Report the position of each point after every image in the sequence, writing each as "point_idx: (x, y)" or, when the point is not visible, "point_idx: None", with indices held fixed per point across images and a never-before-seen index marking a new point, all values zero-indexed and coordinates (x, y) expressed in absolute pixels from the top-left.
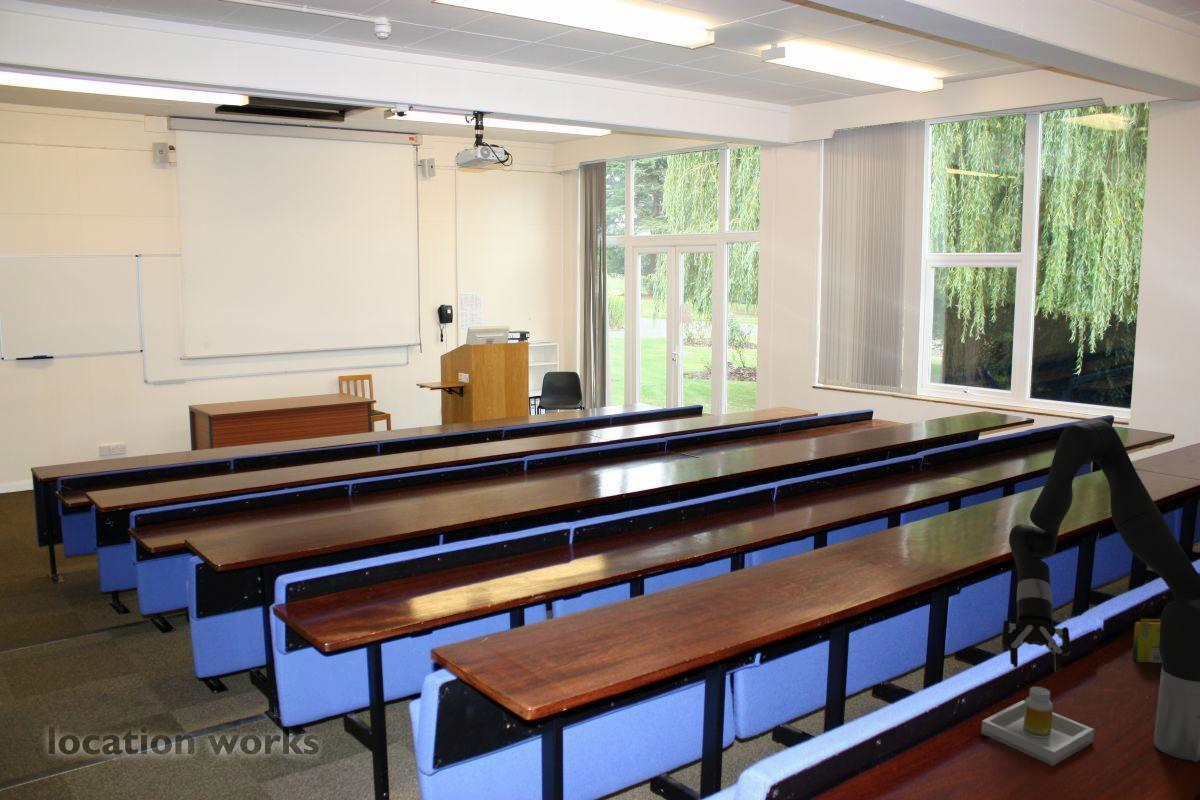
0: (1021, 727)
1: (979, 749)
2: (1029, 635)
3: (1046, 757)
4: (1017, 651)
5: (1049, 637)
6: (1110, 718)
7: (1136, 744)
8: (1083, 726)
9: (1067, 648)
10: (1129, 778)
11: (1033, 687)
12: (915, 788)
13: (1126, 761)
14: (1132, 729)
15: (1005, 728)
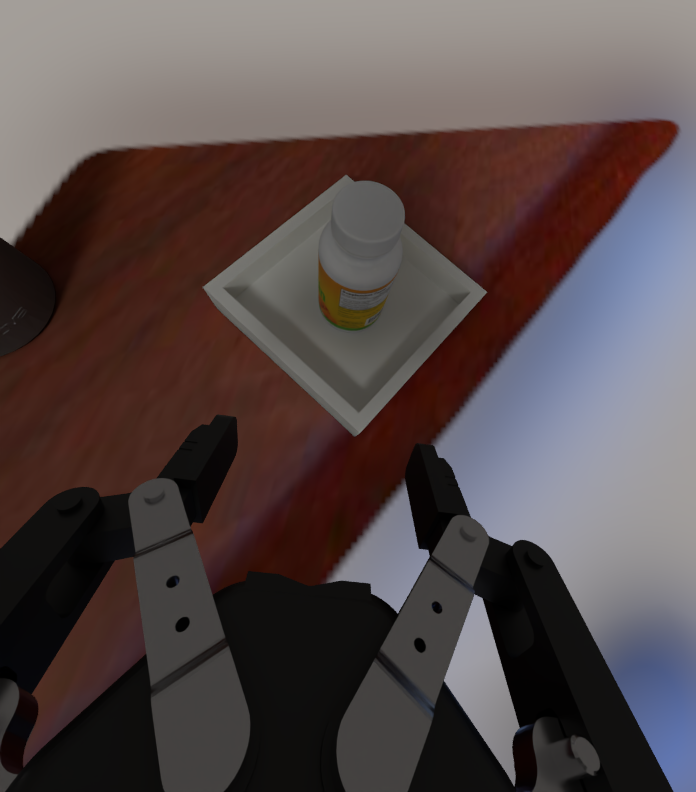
0: (381, 326)
1: (477, 248)
2: (366, 643)
3: None
4: (435, 497)
5: (172, 601)
6: (101, 450)
7: (102, 313)
8: (227, 297)
9: (67, 507)
10: (198, 178)
11: (388, 232)
12: (582, 127)
13: (171, 237)
14: (67, 392)
15: (436, 261)
